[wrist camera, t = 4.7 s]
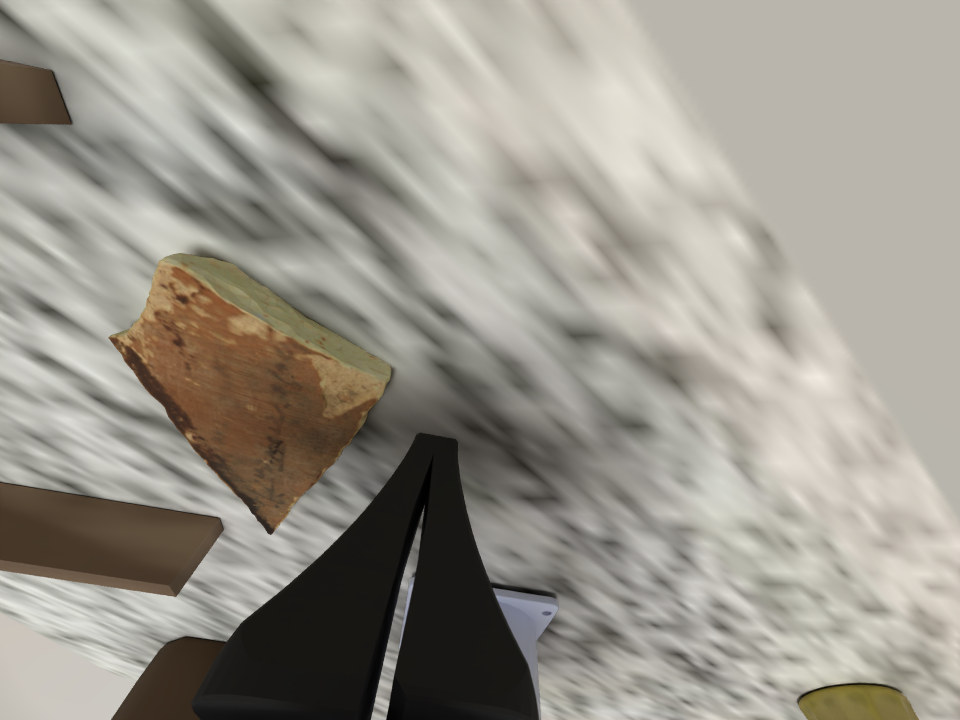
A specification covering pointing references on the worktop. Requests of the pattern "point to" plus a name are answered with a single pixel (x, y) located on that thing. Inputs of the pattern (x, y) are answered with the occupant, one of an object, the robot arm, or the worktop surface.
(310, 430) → the shard
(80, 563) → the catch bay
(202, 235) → the worktop surface
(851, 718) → the olive green rod
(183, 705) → the beer bottle
